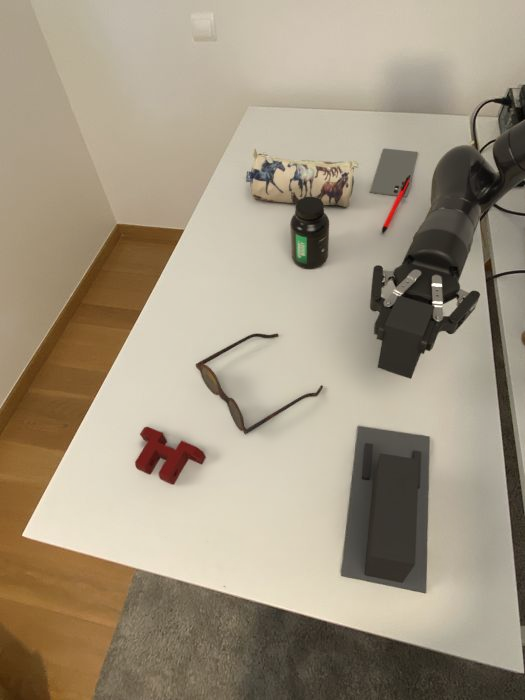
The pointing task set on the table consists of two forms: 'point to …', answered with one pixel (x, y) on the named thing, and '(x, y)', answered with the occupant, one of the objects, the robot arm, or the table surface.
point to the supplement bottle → (309, 233)
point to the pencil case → (301, 180)
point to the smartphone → (393, 172)
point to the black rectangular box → (404, 336)
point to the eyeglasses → (234, 410)
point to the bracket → (166, 455)
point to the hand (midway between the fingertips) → (400, 341)
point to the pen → (395, 204)
